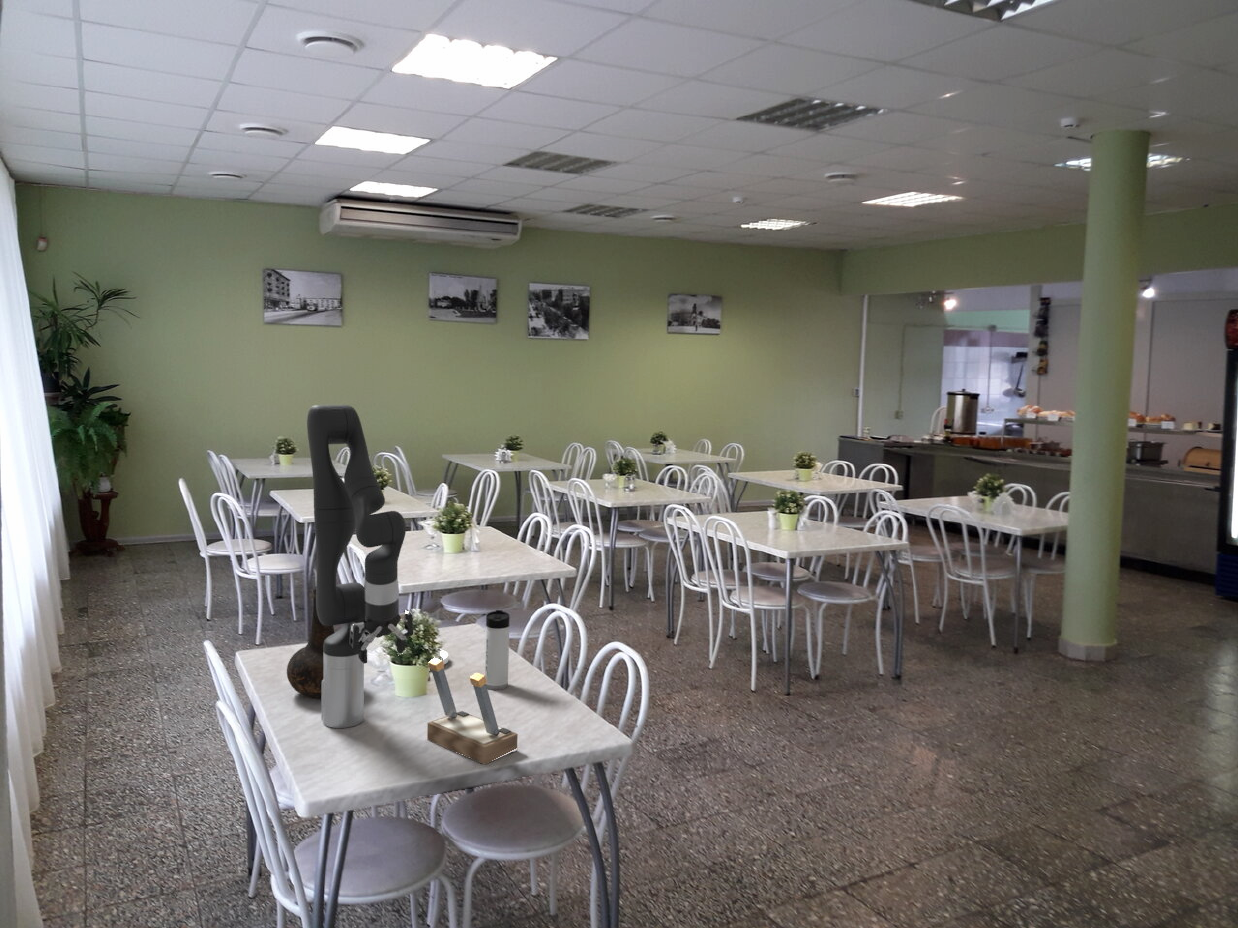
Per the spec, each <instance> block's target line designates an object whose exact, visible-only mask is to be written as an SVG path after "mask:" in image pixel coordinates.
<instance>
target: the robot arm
mask: <svg viewBox="0 0 1238 928" xmlns="http://www.w3.org/2000/svg"><path fill="white" fill-rule="evenodd" d="M306 426H307V427H306V429H307V439H308V445H309V446H308V447H309V453H310V462H311V469H312V483H313V484H312V485H313V516H314V517H313V519H314V521H313V522H314V530H315V531H314V533H315V534H314V535H315V545H316V548H315V549H316V578H315V579H316V580H315V581H316V582H315V584H316V585H315V587H316V610H317V615H318V618H319V621H320V622H321V623H322V624H323V625H325V626H332V625H333V626H337V625H342V626H341V627H340V628H339V629H338V630H337V631H334V634H332V635H330V636H329V637H327V638H326V639H325V641H324V645H323V680H322V697H321V699H320V700H321V703H320V704H321V705H320V708H321V713H320V714H321V717H320V719H321V720H322V723H323V725H324V726H326V727H330V728H336V729H338V728H339V729H340V728H341V729H342V728H351V727H354V726H357V725H359V724H361V723H362V722H363V721H364V709H365V707H364V705H365V704H364V695H365V694H364V693H365V692H364V691H365V664H368V649H367V648H368V647H369V645H370V644H372V642H374V640H375V638H376V639H378V638H381V637H383V636H390V635H391V634H392V633H393V634H394V635H395V636H396V651H397V652H398V655H399V654H403V651H406V640H407V637H412V636H413V635H414V621H413V620H414V618H413V614H412V613H411V611H410V610H409V609H408V608H405V609H404V610H403V612H399V611H400V605H399V603H400V601H399V600H400V587H399V586H400V585H399V577H398V572H399V571H398V561H399V557H400V554H401V549H402V547H403V544H404V541H405V536H406V532H407V531H406V530H407V526H406V521H405V518H404V516H403V515H402V514H401V513H400V512H399V511H396V510H389V511H388V510H387V511H384V512H379V513H378V511H380V510H381V509H382V508H384V505H385V503H386V498H385V495H384V493H383V490H382V487H381V486H380V484H379V482H378V479H377V477H376V474H375V472H374V470H373V466H372V463H371V460H370V455H369V450H368V446H367V442H366V438H365V433H364V430H363V427H362V423H361V419H360V417H359V415H358V412H357V411H356V409H355V408H354V407H353V406H352V405H348V404H347V405H346V404H316V405H312V406H311V407H310V408H309V410H308V412H307V419H306ZM329 445H346V446H347V447H348V449H349V452H350V455H349V460H348V462H347V464H346V465H347V466H346V468H345V472H344V476H343V479H342V477H341V476H340V474H338V471H337V470H336V468H335V466H334V464H333V461H332V458H331V457H332V456H331V453H330V447H329ZM376 512H377V513H376ZM354 533H355V536H356V540H357V542H358V543H359V544H360V545H361V546H362V547H365V548H368V549H369V548H375V547H378V548H376V549H374V550H372V551H369V553H367V554H366V556H365V558H364V586H363V584H362V583H360V582H358V581H357V582H355V581H354V582H348V583H341V584H337V576H338V575H337V573H338V568H339V564H340V561H341V559H342V556H344V553H345V551H346V549H347V548H348V546H349V545H350V542H351V540H352V538H353V536H354ZM400 621H403V622H404V624H403V625H404V629H403V630H401V629H400V628H399V627H398V624H399V623H400Z"/></svg>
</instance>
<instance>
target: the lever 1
mask: <svg viewBox="0 0 1238 928" xmlns="http://www.w3.org/2000/svg"><path fill="white" fill-rule="evenodd" d="M428 665H429V668H428V669H429V670H430V671H431V673H432V677H433V679H434V684H435V686H436V690H437V692H438V695H439V699H440V703H441V706H442V709H443V712H444V715H445V717H446V716H448V717H451V718H454V719H455V718H456V717H457V712H458V711H457V708H456V705H455V702H454V699H453V694H452V692H451V690H450V689H451V688H450V685H449V683H448V679H447V676H446V672H445V664H443V661H442V660H440V659H438V658H435V657H434V658H433V659H431V660H430V661H429V662H428Z"/></svg>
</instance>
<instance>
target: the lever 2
mask: <svg viewBox="0 0 1238 928" xmlns="http://www.w3.org/2000/svg"><path fill="white" fill-rule="evenodd" d="M469 681H470V684H471V686H473V690H474V692H475V697H476V700H477V705H478V706H479V710H480V714H481V717H482V718H481V719H482V720H483V721H484V725H485V728H486V732H487V733H489V734H492V735H495V736H498V735H499V728H498V726H499V725H498V722H497V717H496V715H495V710H494V708H493V705H492V704H493V703H492V701H491V697H490V693H489V689H488V688H487V686H486V683H487V681H486V678H485V674H482V673H478V672H475V673H473V674H472V675H470V677H469Z"/></svg>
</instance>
